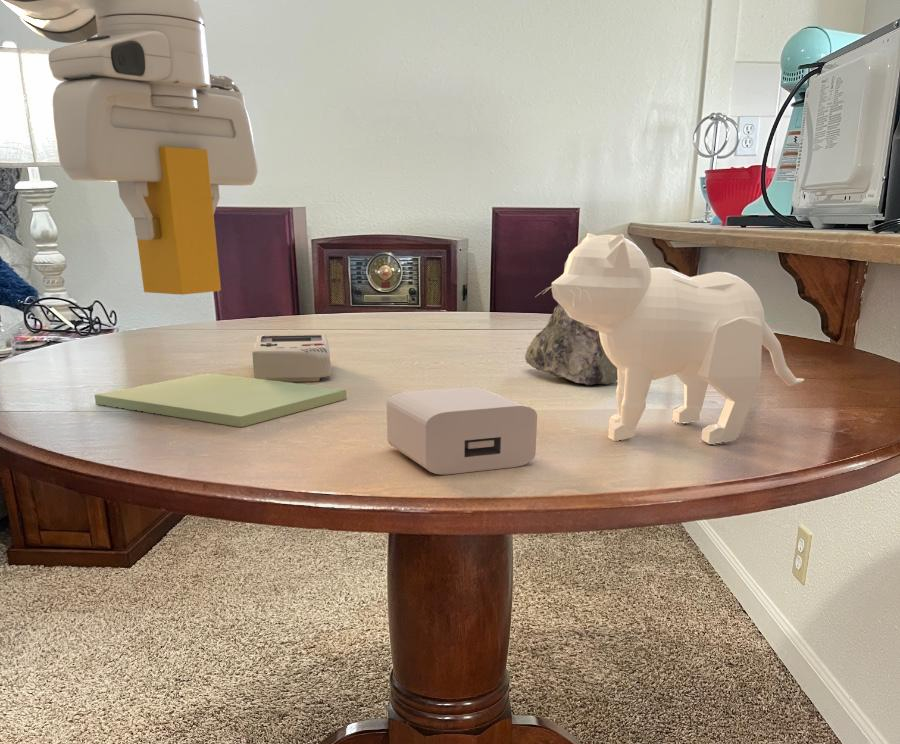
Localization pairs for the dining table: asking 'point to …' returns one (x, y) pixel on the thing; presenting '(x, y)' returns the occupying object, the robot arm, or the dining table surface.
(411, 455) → the charger
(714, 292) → the cat figurine
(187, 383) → the mat
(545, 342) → the mineral rock
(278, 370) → the handheld gaming device
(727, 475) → the dining table surface
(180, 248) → the block
